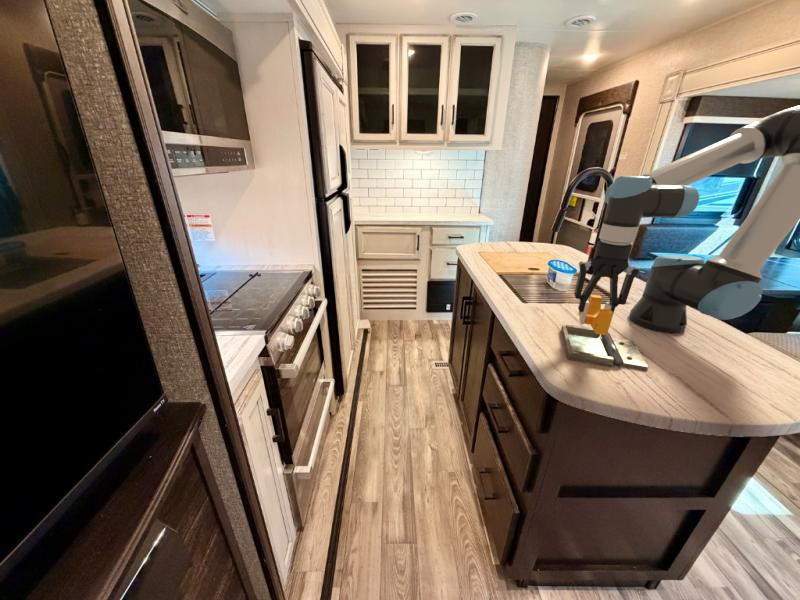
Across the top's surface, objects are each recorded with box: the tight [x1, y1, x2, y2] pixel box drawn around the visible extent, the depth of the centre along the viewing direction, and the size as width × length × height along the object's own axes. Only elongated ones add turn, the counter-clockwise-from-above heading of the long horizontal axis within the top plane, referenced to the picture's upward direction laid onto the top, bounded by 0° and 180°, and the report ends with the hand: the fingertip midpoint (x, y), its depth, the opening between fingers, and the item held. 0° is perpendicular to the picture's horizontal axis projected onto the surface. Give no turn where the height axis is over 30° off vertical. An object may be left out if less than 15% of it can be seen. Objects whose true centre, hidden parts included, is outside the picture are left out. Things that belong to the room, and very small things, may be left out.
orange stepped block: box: [578, 294, 615, 336], centre depth 89 cm, size 12×4×6 cm, turn 165°
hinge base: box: [560, 324, 649, 371], centre depth 92 cm, size 19×17×2 cm
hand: (591, 323), depth 90 cm, fingers closed on orange stepped block, 5 cm apart
